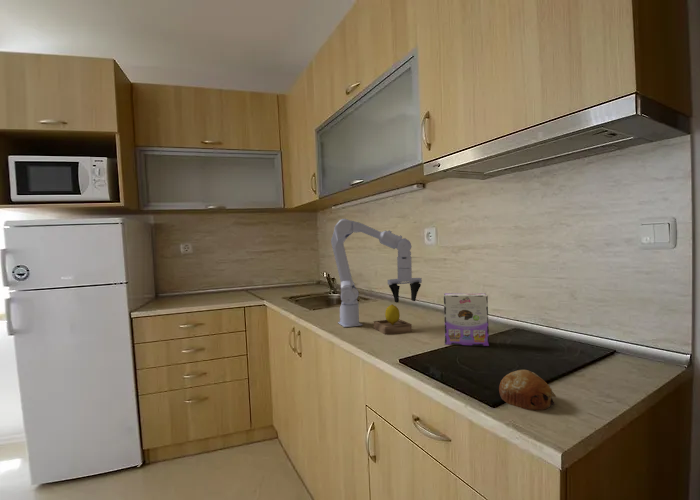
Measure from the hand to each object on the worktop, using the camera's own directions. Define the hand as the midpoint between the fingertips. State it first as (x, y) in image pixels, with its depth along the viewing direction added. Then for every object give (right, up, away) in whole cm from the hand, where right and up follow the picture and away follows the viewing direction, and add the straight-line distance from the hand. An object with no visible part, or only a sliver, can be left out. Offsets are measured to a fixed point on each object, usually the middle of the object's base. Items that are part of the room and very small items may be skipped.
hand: (405, 301), depth 146 cm
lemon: (-6, -8, -7) cm, 12 cm away
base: (-6, -10, -6) cm, 13 cm away
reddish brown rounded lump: (+15, -11, -71) cm, 73 cm away
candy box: (+16, -10, -27) cm, 33 cm away
